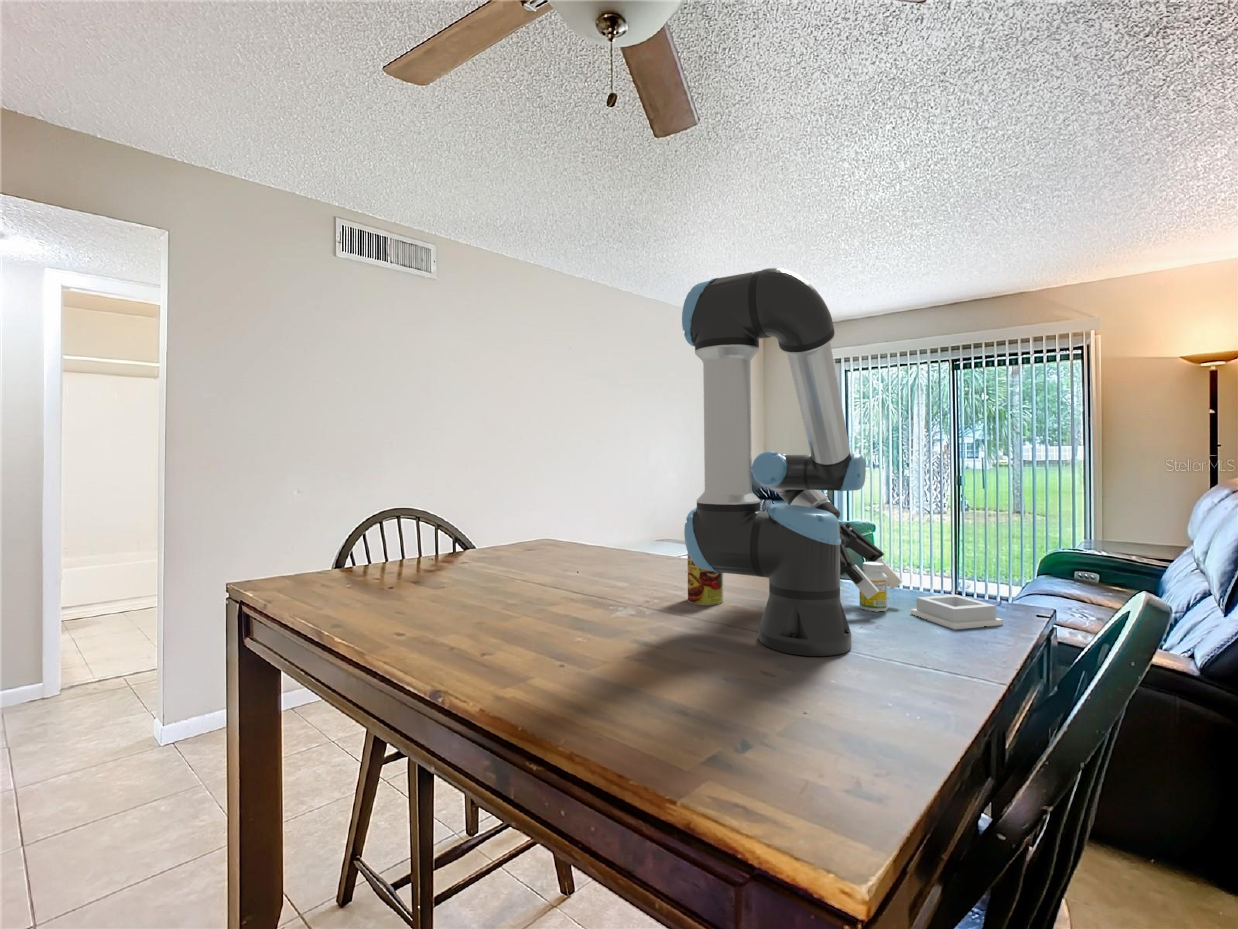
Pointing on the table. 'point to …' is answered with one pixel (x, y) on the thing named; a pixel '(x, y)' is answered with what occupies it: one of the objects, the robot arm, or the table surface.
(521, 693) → the table surface
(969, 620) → the socket collar
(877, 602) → the supplement bottle
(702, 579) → the canned food
